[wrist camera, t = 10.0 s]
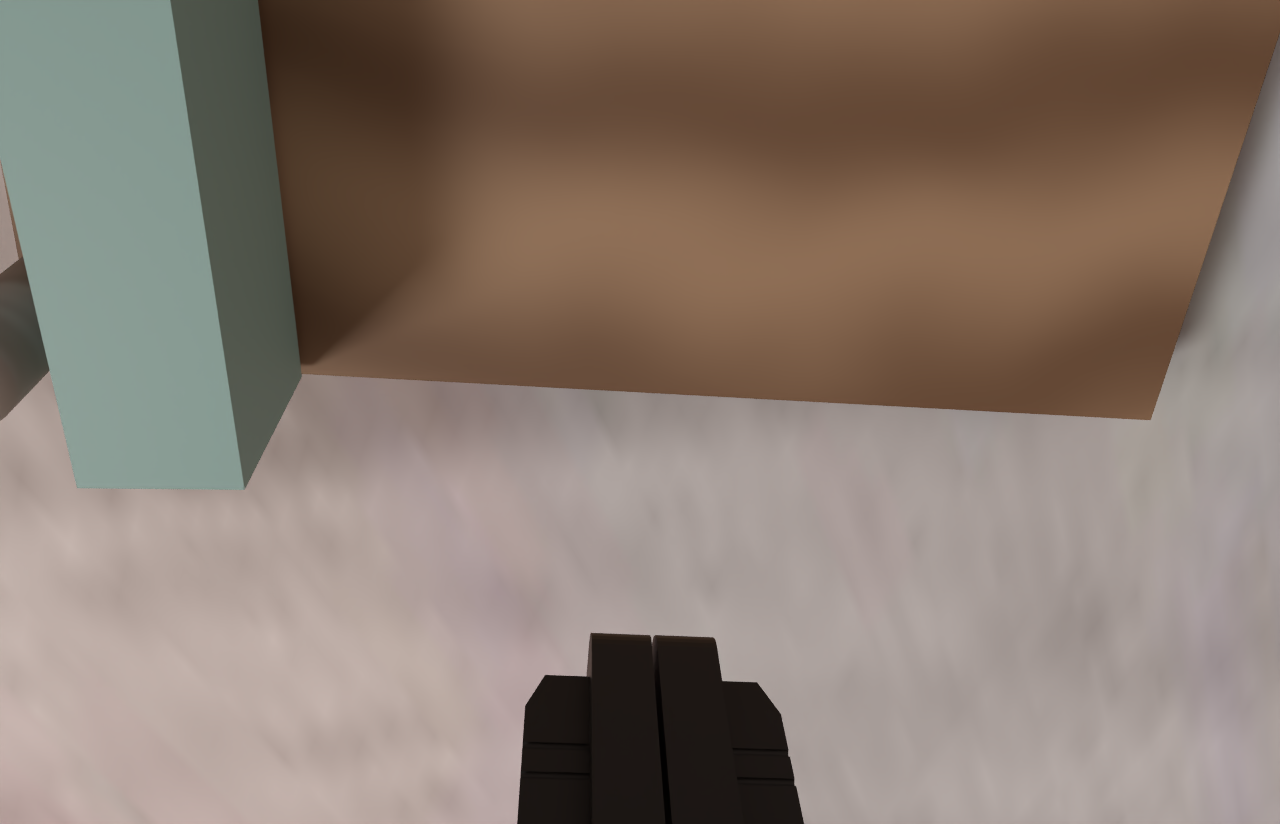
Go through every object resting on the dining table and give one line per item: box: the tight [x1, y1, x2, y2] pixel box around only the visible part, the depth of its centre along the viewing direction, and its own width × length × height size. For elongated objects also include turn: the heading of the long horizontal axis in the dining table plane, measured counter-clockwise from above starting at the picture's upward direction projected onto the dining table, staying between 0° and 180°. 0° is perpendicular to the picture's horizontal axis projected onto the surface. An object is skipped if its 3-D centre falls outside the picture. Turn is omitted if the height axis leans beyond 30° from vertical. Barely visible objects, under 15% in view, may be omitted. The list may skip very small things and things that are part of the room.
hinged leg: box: [0, 0, 302, 490], centre depth 21 cm, size 14×4×5 cm, turn 178°
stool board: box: [0, 0, 1280, 420], centre depth 23 cm, size 15×27×8 cm, turn 85°
